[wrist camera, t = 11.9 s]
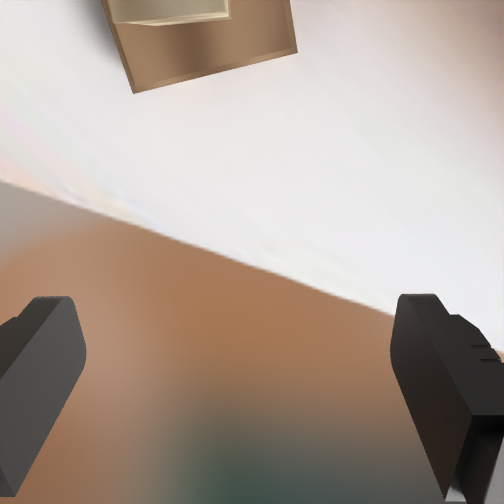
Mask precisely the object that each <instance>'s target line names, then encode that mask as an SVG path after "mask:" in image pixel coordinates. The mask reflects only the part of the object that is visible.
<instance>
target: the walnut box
mask: <svg viewBox="0 0 504 504" xmlns="http://www.w3.org/2000/svg"><path fill="white" fill-rule="evenodd" d="M101 1H102V4H103V7H104V10H105V13H106V16H107V19H108V22H109V25H110V28H111V31H112V34H113V37H114V39H115V42H116V45H117V48H118V51H119V54H120V57H121V60H122V63H123V66H124V69H125V72H126V75H127V78H128V81H129V84H130V87H131V89H132V92H133V94H135V93H139V92H143V91H147V90H151V89H155V88H159V87H163V86H167V85H171V84H175V83H179V82H183V81H187V80H191V79H195V78H199V77H203V76H207V75H211V74H215V73H219V72H223V71H227V70H231V69H235V68H239V67H243V66H247V65H251V64H255V63H259V62H263V61H267V60H271V59H275V58H279V57H283V56H287V55H291V54H295V53H298V51H297V45H296V38H295V32H294V26H293V19H292V13H291V7H290V0H230V9H231V19H230V20H218V21H207V22H196V23H185V24H174V25H163V26H151V25H141V24H132V23H113V20H112V16H111V11H110V6H109V1H108V0H101Z"/></svg>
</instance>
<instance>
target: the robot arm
mask: <svg viewBox="0 0 504 504" xmlns="http://www.w3.org/2000/svg"><path fill="white" fill-rule="evenodd" d="M390 357H391V364H392V367H393V371H394V373H395V376H396V379H397V381H398V383H399V386H400V389H401V391H402V393H403V396H404V399H405V401H406V404H407V406H408V409H409V411H410V414H411V417H412V419H413V422H414V424H415V426H416V429H417V432H418V434H419V437H420V439H421V442H422V444H423V446H424V449H425V452H426V454H427V457H428V459H429V462H430V464H431V467H432V469H433V472H434V475H435V477H436V479H437V482H438V485H439V487H440V489H441V492H442V495H443V497H444V500H445V501H466V502H467V504H504V363H502V362H501V358H500V357H499V355H498V354H497V353H496V351H495V350H494V349H493V348H491V345H490V343H489V342H488V341H487V339H486V338H485V337H484V335H483V334H482V333H481V331H480V330H479V329H478V328H477V327H476V326H474V325H473V324H471V323H470V322H469V321H467V320H466V319H464V318H463V317H462V316H460V315H450V314H449V313H448V311H447V310H446V308H445V307H444V305H443V304H442V303H441V301H440V300H439V298H438V297H437V296H436V295H435V294H401V295H400V297H399V299H398V303H397V309H396V314H395V320H394V327H393V332H392V338H391V345H390ZM85 361H86V345H85V341H84V337H83V334H82V330H81V326H80V323H79V319H78V316H77V312H76V309H75V305H74V302H73V300H72V299H71V298H70V297H67V296H49V297H35V298H34V299H33V300H32V301H31V302H30V303H29V304H28V305H27V306H26V308H25V309H24V310H23V311H22V312H21V314H19V316H18V317H13V318H11V319H10V320H9V321H7V322H5V323H4V324H2V325H1V326H0V497H15V496H16V494H17V492H18V490H19V488H20V486H21V485H22V483H23V481H24V479H25V477H26V475H27V473H28V471H29V470H30V468H31V466H32V464H33V462H34V460H35V458H36V457H37V455H38V453H39V451H40V449H41V447H42V445H43V444H44V441H45V440H46V438H47V436H48V434H49V432H50V430H51V429H52V427H53V425H54V423H55V421H56V419H57V417H58V416H59V413H60V412H61V410H62V408H63V406H64V404H65V402H66V401H67V399H68V397H69V395H70V393H71V391H72V389H73V388H74V386H75V384H76V382H77V380H78V378H79V376H80V374H81V372H82V371H83V368H84V365H85Z"/></svg>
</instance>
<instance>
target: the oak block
mask: <svg viewBox="0 0 504 504" xmlns="http://www.w3.org/2000/svg"><path fill="white" fill-rule="evenodd" d="M108 1H109V6H110V11H111V16H112V20H113V23H132V24H141V25H151V26H163V25H174V24H185V23H196V22H207V21H218V20H230V19H231V9H230V0H108Z"/></svg>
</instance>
